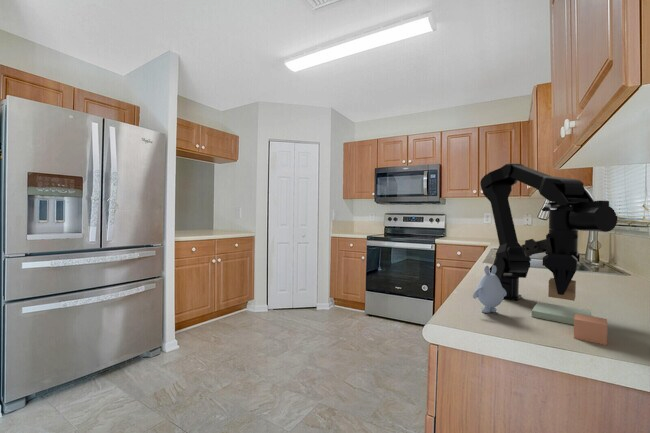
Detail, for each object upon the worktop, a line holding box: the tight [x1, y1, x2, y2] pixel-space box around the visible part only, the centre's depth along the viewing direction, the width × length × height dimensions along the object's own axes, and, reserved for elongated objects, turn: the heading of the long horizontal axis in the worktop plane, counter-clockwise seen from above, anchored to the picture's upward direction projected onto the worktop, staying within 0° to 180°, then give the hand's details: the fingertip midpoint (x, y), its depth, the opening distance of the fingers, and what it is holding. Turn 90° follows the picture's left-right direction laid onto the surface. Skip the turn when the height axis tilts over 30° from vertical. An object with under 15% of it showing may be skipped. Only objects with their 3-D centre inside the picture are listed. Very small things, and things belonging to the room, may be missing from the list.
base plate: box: [531, 301, 592, 326], centre depth 76 cm, size 11×11×2 cm
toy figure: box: [472, 264, 507, 314], centre depth 79 cm, size 11×6×12 cm, turn 108°
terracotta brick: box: [573, 314, 608, 346], centre depth 63 cm, size 5×5×4 cm
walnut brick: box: [548, 277, 577, 302], centre depth 76 cm, size 5×5×4 cm
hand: (561, 292), depth 76 cm, fingers closed on walnut brick, 5 cm apart
